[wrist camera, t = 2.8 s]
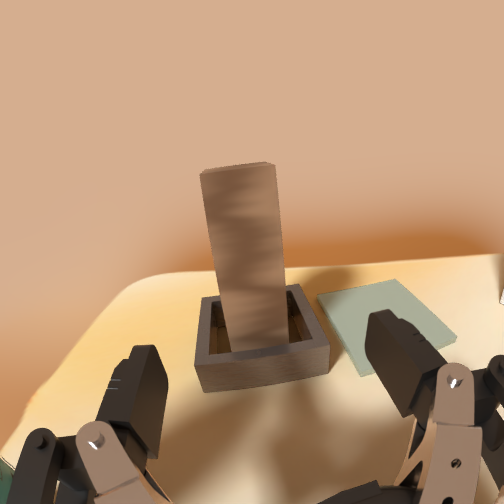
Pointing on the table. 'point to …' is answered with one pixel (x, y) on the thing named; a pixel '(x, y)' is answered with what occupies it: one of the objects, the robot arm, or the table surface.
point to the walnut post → (247, 252)
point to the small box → (502, 298)
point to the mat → (371, 300)
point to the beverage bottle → (5, 480)
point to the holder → (260, 350)
